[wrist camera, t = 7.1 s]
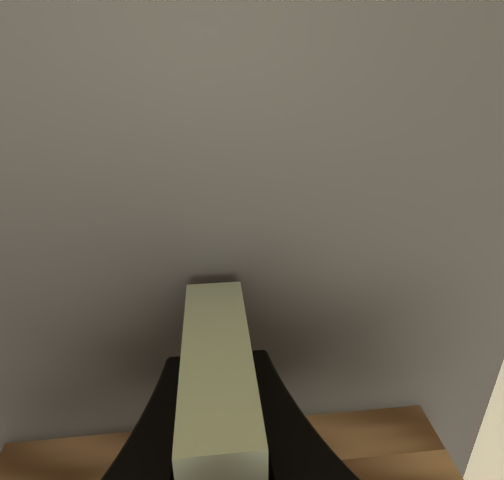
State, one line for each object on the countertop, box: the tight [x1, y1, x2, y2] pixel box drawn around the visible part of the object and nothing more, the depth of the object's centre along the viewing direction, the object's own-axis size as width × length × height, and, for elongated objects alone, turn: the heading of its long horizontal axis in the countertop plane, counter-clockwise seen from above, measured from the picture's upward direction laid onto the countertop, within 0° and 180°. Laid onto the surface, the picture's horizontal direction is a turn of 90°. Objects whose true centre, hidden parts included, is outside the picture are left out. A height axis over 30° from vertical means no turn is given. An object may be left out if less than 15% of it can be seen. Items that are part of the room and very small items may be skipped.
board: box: [0, 0, 504, 478], centre depth 15 cm, size 22×23×1 cm
